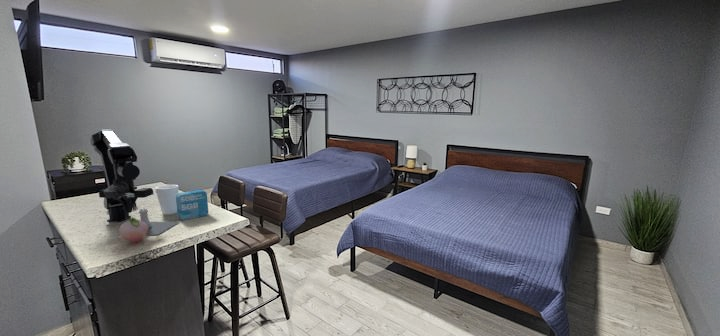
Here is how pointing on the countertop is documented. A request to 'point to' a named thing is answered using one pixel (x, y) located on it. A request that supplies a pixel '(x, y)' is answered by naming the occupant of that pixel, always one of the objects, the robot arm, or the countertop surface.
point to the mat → (160, 227)
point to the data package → (192, 204)
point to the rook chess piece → (145, 217)
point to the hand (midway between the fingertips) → (129, 212)
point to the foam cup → (167, 198)
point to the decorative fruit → (133, 230)
